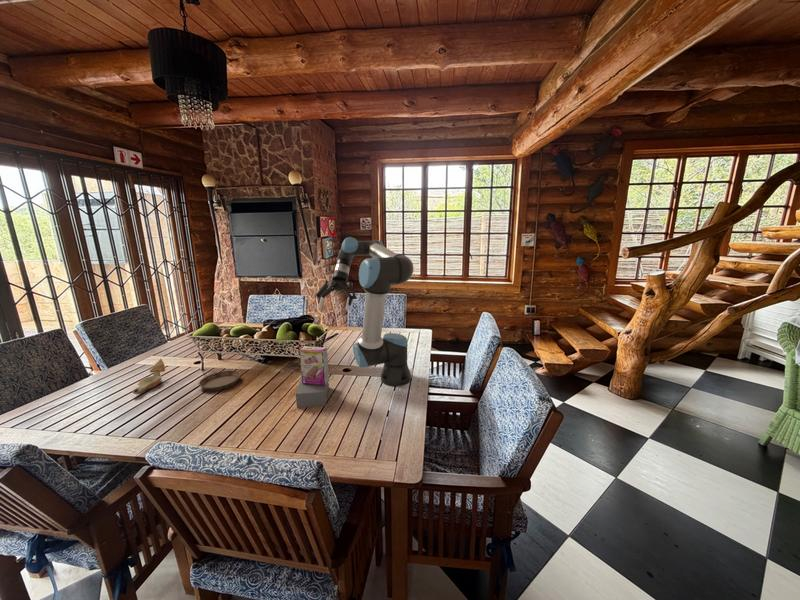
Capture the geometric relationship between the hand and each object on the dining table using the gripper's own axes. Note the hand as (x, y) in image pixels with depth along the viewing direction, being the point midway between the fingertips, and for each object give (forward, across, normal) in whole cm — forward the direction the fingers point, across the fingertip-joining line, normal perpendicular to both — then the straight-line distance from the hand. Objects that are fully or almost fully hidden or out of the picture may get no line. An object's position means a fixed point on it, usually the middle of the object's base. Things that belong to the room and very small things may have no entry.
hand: (333, 310), depth 153 cm
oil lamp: (+39, +87, -12) cm, 96 cm away
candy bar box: (+34, +3, -8) cm, 35 cm away
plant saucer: (+34, +55, -17) cm, 67 cm away
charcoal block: (+39, +4, -12) cm, 41 cm away
